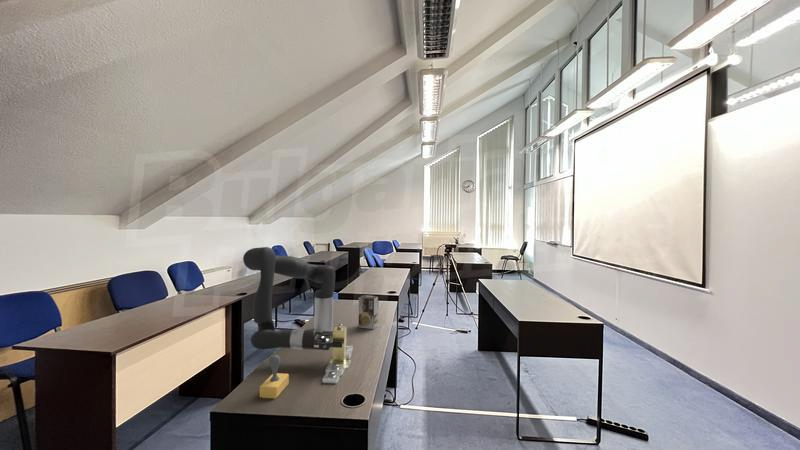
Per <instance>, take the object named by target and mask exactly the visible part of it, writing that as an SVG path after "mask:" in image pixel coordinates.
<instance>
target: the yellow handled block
mask: <svg viewBox="0 0 800 450" xmlns="http://www.w3.org/2000/svg"><path fill="white" fill-rule="evenodd" d="M268 364H269V366H270V370H271V372H272V374H271V375H270V376H269V377H268V378H267V379H266V380H265V381H264V382H263V383H262V384H261V385H260V386H259V398H261V397H262V398H261V399H275V400H276V399H277V398H278V397H279V396H280V394H282V392H283V391H284V390H285V389H286V388H287V386H288V385H289V384H290V380H289V379H290V376H289V373H282V372H280V373H279V372H278V371H279V368H280V365H281V357H280V355H278V354H273V355H272V356H271V357H270V359H269V363H268Z"/></svg>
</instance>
